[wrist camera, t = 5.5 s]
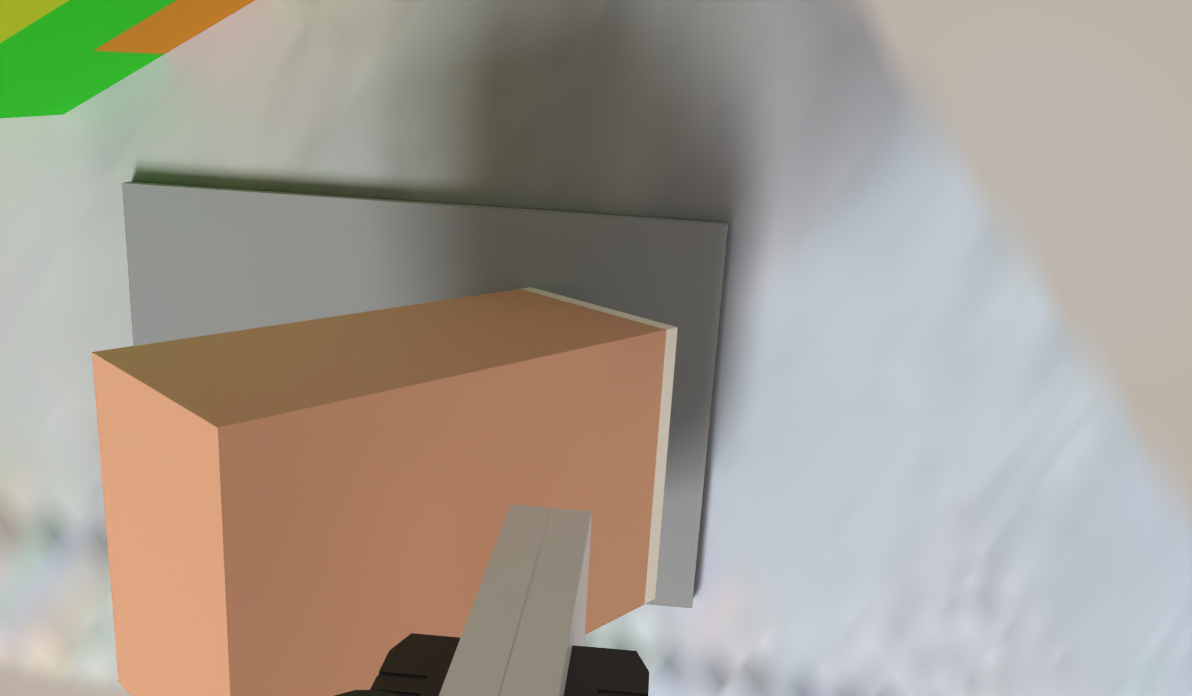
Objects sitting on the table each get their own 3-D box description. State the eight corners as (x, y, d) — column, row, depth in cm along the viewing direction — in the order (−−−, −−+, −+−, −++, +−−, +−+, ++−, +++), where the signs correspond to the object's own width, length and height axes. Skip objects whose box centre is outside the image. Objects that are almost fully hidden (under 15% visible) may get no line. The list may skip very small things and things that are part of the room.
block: (532, 286, 26) (91, 351, 18) (679, 327, 23) (218, 427, 15) (522, 528, 28) (118, 681, 20) (656, 598, 25) (235, 813, 17)
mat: (130, 181, 26) (122, 183, 26) (727, 222, 26) (728, 224, 25) (155, 552, 29) (148, 559, 29) (691, 600, 28) (691, 608, 28)
